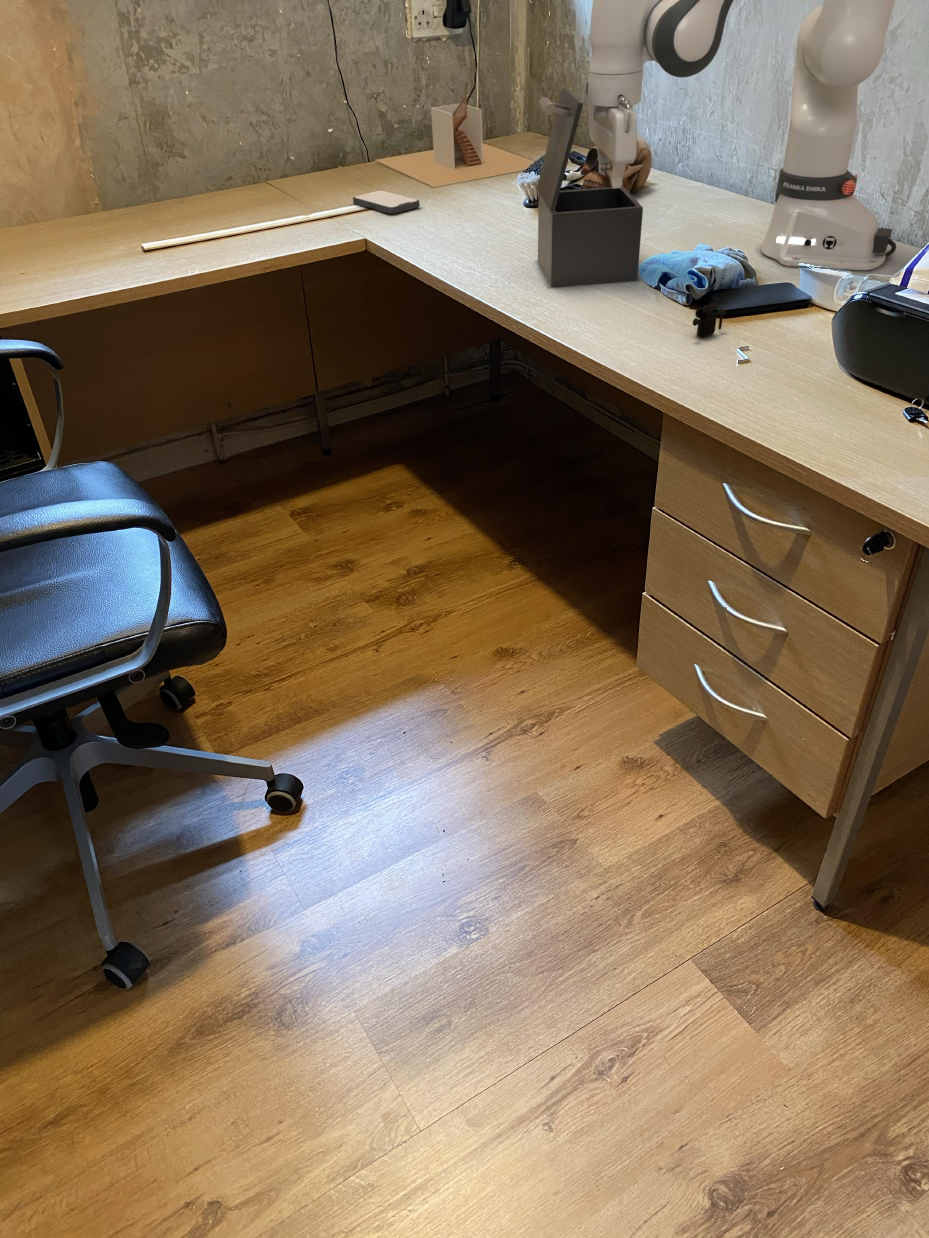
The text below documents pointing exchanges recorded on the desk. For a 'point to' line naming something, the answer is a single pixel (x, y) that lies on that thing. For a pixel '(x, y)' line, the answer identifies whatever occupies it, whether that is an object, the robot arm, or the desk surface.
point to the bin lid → (558, 144)
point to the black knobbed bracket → (707, 320)
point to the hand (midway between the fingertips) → (609, 180)
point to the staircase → (456, 150)
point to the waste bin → (590, 237)
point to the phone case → (386, 202)
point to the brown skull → (632, 175)
